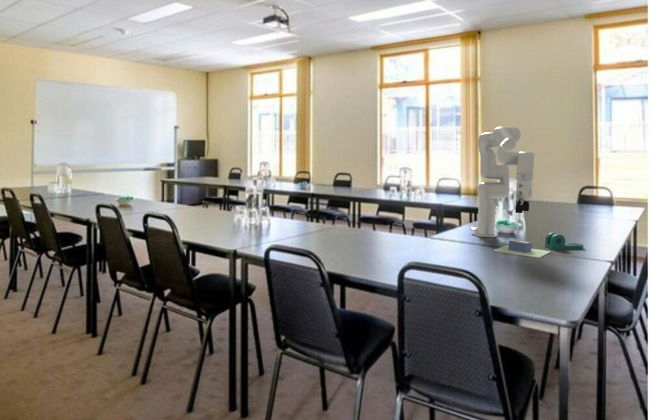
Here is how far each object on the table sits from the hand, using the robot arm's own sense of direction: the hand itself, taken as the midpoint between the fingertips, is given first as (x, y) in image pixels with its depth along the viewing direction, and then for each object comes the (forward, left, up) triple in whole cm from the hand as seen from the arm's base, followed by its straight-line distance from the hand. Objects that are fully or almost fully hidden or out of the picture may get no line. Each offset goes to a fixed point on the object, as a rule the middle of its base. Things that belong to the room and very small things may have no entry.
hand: (522, 211), depth 232 cm
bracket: (+15, +25, -20) cm, 35 cm away
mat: (+1, 0, -20) cm, 20 cm away
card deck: (0, 0, -19) cm, 19 cm away
